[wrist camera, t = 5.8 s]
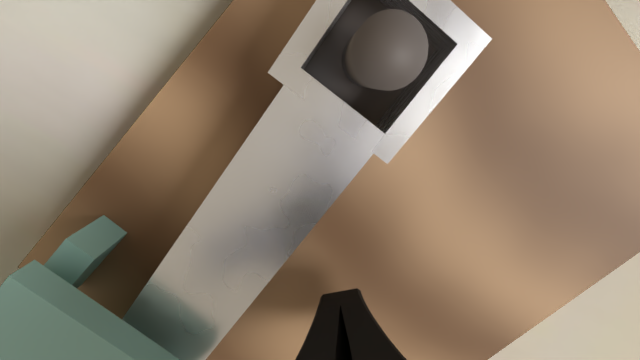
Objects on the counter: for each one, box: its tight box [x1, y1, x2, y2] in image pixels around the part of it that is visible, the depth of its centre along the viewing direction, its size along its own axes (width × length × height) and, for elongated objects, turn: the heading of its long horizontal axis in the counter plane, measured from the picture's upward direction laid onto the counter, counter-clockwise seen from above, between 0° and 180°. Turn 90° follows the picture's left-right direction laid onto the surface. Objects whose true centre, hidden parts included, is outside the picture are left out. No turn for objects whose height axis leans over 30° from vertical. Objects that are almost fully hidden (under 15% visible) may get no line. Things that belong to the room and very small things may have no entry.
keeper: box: [0, 215, 180, 360], centre depth 12 cm, size 6×6×4 cm
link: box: [122, 0, 492, 360], centre depth 10 cm, size 15×4×2 cm, turn 143°
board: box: [18, 0, 640, 360], centre depth 11 cm, size 20×16×4 cm
